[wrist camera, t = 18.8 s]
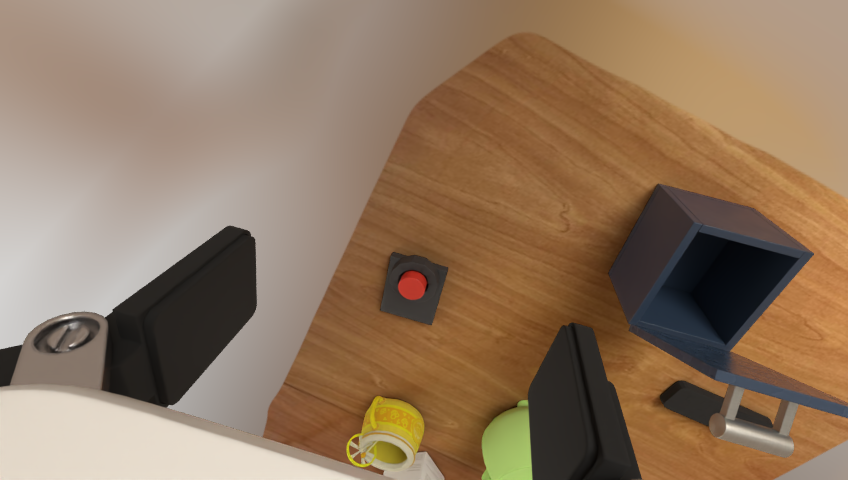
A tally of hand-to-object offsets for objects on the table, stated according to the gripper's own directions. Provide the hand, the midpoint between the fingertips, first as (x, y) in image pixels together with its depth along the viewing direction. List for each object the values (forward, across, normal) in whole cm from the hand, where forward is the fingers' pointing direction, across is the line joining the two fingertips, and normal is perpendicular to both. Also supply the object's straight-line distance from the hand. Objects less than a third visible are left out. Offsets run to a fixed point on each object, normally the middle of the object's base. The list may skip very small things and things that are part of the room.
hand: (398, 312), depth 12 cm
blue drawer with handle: (+20, -27, +13) cm, 36 cm away
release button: (+34, +2, +24) cm, 41 cm away
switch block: (+36, +2, +27) cm, 45 cm away
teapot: (+36, -22, +48) cm, 64 cm away
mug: (+36, 0, +55) cm, 66 cm away
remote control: (+36, -45, +33) cm, 67 cm away
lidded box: (+36, -27, +10) cm, 46 cm away
